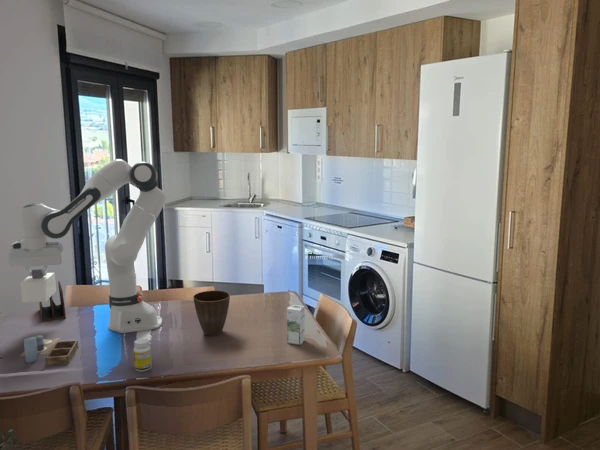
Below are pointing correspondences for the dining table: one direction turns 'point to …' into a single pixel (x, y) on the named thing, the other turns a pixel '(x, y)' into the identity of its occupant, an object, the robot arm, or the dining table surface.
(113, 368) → the dining table surface
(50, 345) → the board
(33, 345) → the peg
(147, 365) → the supplement bottle
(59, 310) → the letter holder
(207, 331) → the plant pot
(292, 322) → the syrup box
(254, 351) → the dining table surface
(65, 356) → the divided wooden tray
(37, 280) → the cover
